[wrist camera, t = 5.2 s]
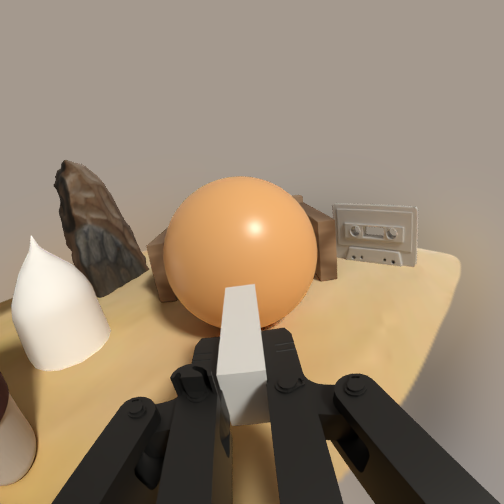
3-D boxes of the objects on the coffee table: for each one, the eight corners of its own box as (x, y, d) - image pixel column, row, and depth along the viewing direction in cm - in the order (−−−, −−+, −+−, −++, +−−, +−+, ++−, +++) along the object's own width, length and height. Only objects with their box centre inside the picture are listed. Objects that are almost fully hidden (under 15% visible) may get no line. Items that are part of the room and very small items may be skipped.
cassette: (333, 258, 38) (330, 204, 36) (338, 254, 39) (335, 202, 37) (414, 269, 30) (417, 208, 28) (416, 263, 32) (418, 206, 29)
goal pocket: (160, 302, 31) (144, 237, 29) (187, 255, 49) (178, 211, 47) (337, 278, 31) (334, 210, 29) (303, 239, 49) (299, 194, 47)
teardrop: (93, 309, 31) (67, 219, 28) (127, 338, 24) (91, 218, 21) (24, 341, 23) (-10, 247, 20) (36, 386, 16) (-20, 258, 13)
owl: (98, 302, 33) (65, 155, 27) (58, 293, 37) (30, 177, 32) (152, 268, 44) (130, 149, 38) (106, 267, 49) (86, 166, 43)
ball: (170, 369, 19) (122, 199, 15) (193, 297, 32) (171, 185, 28) (338, 348, 19) (333, 168, 16) (303, 282, 32) (293, 168, 28)
